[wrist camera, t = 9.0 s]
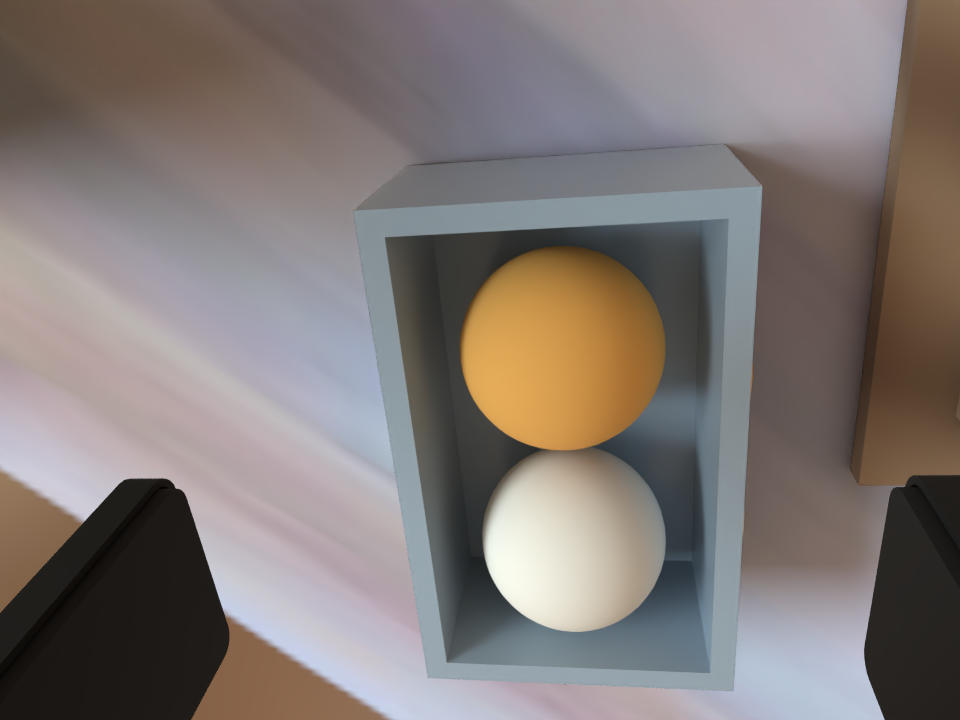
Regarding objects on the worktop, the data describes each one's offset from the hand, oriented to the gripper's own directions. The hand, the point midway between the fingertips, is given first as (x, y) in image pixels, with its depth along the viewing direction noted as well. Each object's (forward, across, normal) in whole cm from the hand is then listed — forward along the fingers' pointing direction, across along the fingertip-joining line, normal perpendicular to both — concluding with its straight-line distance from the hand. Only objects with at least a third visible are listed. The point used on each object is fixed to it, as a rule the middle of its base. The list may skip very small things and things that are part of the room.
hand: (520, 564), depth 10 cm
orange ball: (+9, 0, +1) cm, 9 cm away
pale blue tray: (+12, 0, +4) cm, 13 cm away
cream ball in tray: (+9, 0, +7) cm, 11 cm away
